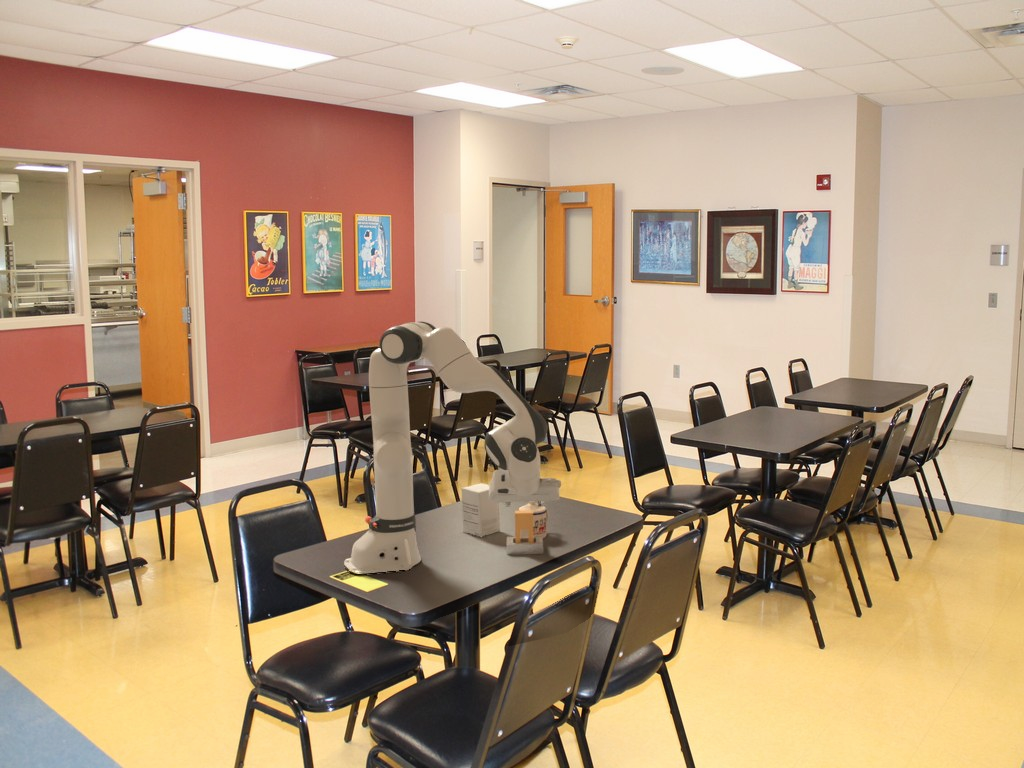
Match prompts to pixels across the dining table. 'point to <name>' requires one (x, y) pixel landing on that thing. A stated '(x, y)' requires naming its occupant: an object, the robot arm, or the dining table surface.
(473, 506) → the supplement box
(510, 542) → the rectangular frame block
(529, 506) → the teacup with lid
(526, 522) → the orange notched arch block
